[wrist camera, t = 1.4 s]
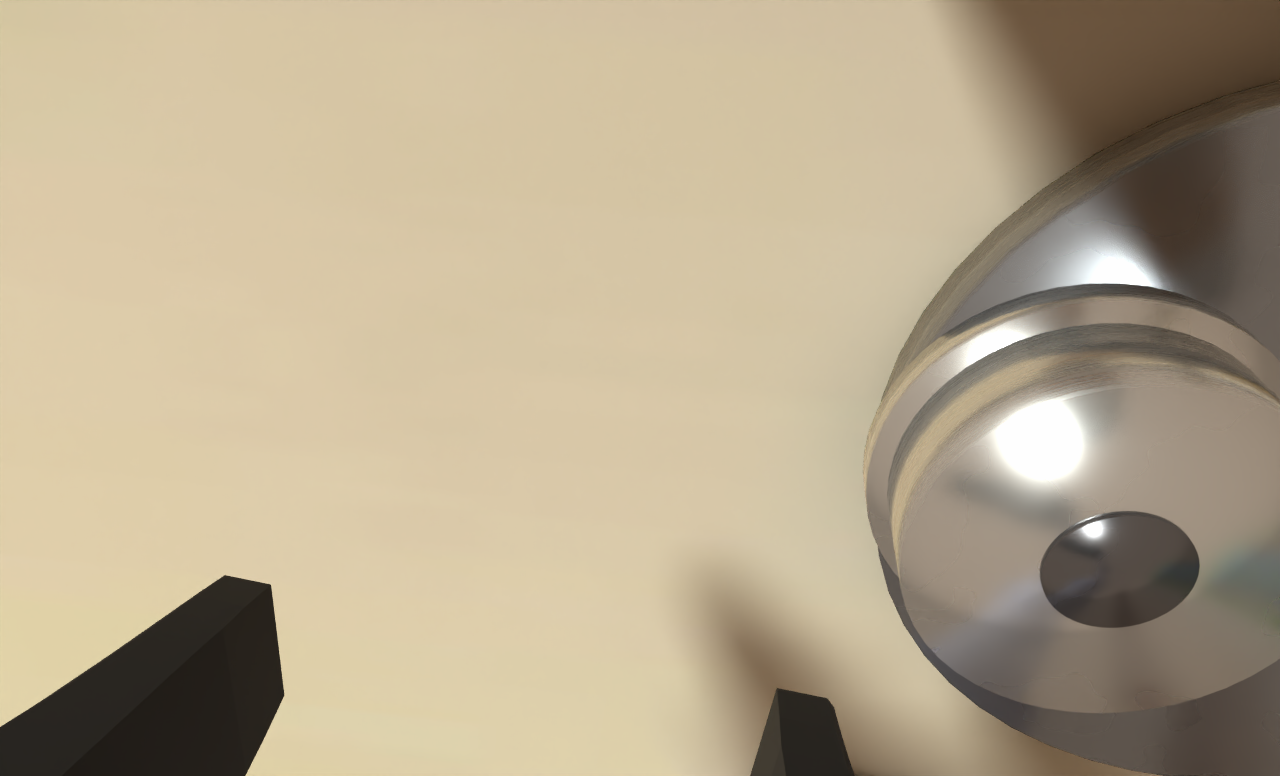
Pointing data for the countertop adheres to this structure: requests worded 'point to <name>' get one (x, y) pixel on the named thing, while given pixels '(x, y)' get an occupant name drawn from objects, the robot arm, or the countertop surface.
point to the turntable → (1170, 260)
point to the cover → (1086, 498)
